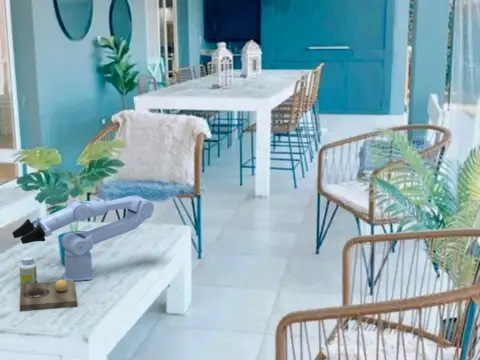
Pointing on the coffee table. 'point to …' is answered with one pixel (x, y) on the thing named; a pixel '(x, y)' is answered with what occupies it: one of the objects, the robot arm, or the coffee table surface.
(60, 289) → the ball
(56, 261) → the coffee table surface
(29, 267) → the supplement bottle
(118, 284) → the coffee table surface
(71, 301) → the wooden board with hole
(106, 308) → the coffee table surface
